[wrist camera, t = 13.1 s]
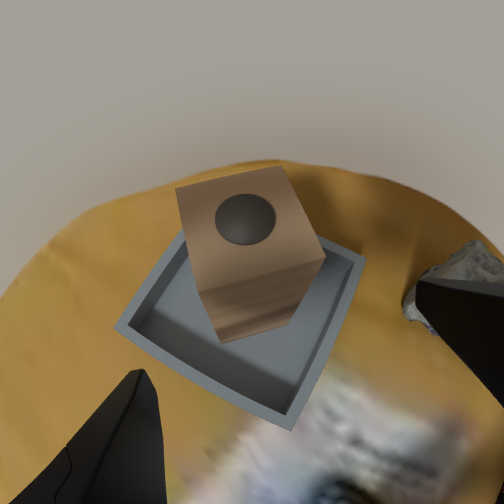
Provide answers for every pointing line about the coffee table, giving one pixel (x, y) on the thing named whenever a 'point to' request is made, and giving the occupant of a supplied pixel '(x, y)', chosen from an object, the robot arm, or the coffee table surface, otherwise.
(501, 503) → the race car
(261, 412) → the tray
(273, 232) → the wooden block
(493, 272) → the mineral rock
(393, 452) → the coffee table surface
